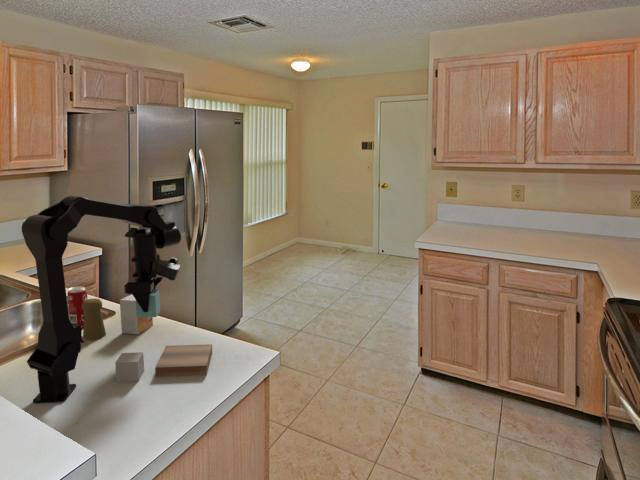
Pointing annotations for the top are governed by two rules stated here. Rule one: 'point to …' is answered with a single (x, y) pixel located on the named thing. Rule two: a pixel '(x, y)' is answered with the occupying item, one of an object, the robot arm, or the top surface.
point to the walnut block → (184, 360)
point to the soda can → (77, 304)
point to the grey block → (129, 367)
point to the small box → (132, 317)
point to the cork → (93, 320)
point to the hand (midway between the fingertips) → (148, 308)
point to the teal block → (150, 306)
